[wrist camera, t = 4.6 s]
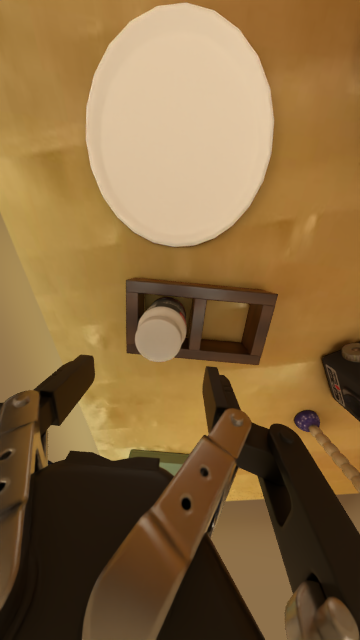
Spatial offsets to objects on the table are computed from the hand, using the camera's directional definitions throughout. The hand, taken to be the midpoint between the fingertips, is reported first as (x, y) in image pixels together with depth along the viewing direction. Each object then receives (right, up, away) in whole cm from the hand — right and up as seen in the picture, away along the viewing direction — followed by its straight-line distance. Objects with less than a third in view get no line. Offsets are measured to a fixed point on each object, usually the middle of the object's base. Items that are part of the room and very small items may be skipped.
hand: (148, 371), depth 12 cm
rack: (+5, +4, +14) cm, 15 cm away
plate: (+2, +24, +8) cm, 25 cm away
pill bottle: (0, +5, +14) cm, 15 cm away
